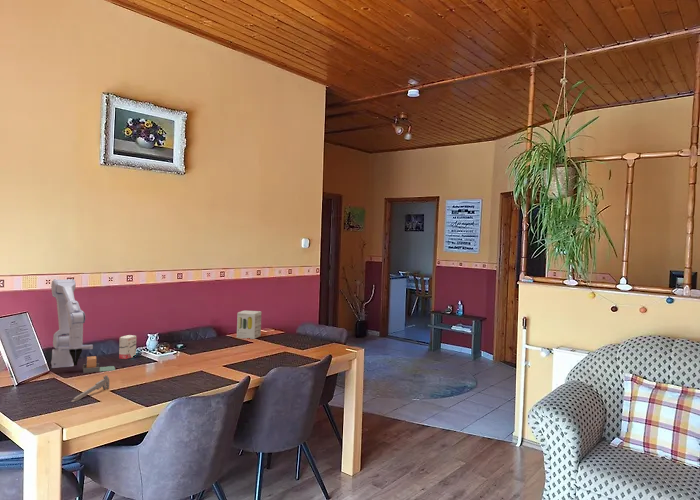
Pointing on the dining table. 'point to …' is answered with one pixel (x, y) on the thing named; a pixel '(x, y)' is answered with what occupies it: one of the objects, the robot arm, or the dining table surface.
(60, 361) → the robot arm
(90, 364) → the block
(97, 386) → the caliper
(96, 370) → the case
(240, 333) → the supplement box
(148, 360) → the dining table surface
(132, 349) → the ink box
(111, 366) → the pad
